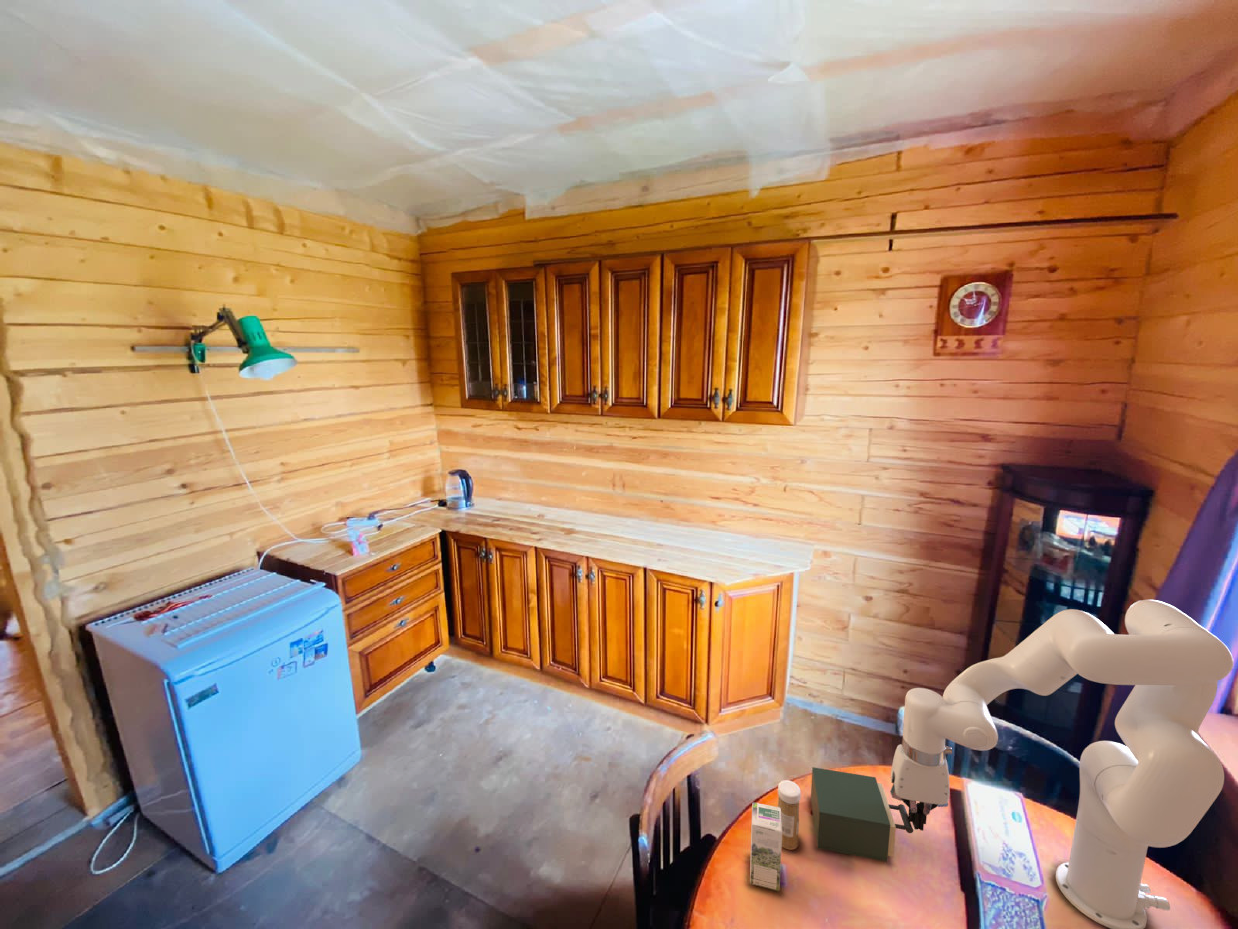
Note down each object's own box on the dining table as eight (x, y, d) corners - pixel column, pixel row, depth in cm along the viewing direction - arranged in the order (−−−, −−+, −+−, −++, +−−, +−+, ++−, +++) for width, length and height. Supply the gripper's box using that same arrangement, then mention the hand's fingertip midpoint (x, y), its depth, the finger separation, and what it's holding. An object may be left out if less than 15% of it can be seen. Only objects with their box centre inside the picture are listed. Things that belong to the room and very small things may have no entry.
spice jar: (802, 843, 108) (805, 789, 106) (788, 855, 106) (791, 800, 104) (785, 828, 112) (787, 775, 110) (771, 838, 110) (773, 785, 107)
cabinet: (872, 811, 116) (875, 777, 114) (887, 862, 104) (890, 824, 102) (810, 800, 119) (812, 767, 118) (817, 848, 107) (819, 812, 106)
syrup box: (778, 865, 104) (781, 805, 101) (779, 893, 98) (782, 830, 96) (750, 859, 105) (752, 799, 103) (749, 886, 100) (751, 824, 97)
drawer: (899, 814, 114) (902, 787, 113) (915, 861, 103) (918, 831, 102) (821, 801, 118) (823, 774, 117) (828, 844, 107) (830, 815, 106)
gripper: (956, 741, 106) (949, 816, 109) (878, 731, 110) (874, 804, 113) (971, 768, 99) (963, 847, 102) (887, 756, 103) (882, 833, 106)
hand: (916, 824), depth 107 cm, fingers closed
